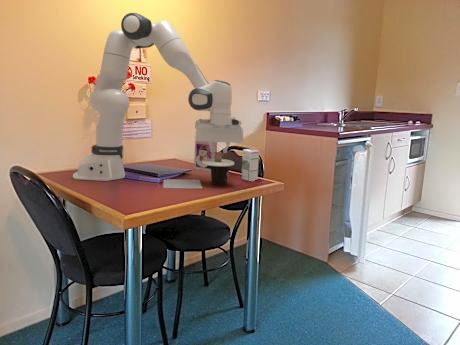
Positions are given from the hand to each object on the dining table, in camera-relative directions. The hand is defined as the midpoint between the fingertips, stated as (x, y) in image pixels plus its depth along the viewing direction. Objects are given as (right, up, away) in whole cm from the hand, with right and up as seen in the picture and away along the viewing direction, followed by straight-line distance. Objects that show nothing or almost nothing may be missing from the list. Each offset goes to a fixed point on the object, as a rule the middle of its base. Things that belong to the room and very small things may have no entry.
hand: (218, 152), depth 169 cm
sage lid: (0, -5, +1) cm, 5 cm away
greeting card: (-7, -7, +38) cm, 39 cm away
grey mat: (-16, -14, +1) cm, 21 cm away
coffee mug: (-1, -15, +3) cm, 15 cm away
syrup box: (+14, -12, +18) cm, 26 cm away
